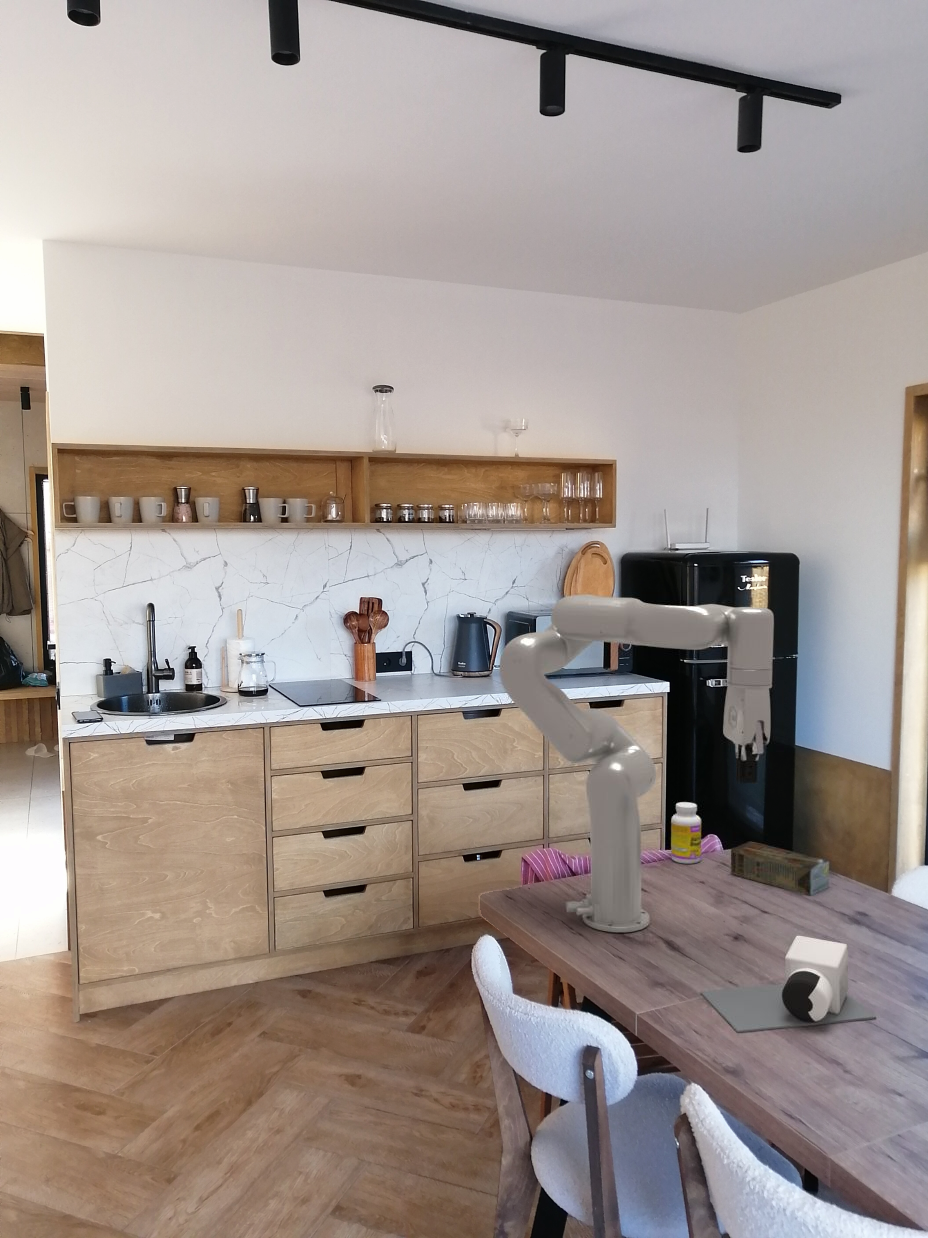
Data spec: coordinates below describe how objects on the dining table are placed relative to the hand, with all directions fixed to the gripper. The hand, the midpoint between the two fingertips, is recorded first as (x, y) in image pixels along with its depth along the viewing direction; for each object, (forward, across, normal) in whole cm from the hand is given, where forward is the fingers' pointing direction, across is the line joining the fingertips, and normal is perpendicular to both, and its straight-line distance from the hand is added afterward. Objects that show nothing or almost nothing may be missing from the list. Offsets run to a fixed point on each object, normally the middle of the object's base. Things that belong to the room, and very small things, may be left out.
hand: (746, 781), depth 169 cm
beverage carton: (+30, -32, +21) cm, 48 cm away
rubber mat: (+29, +24, -3) cm, 38 cm away
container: (+24, +20, +5) cm, 32 cm away
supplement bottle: (+30, -48, +7) cm, 57 cm away
